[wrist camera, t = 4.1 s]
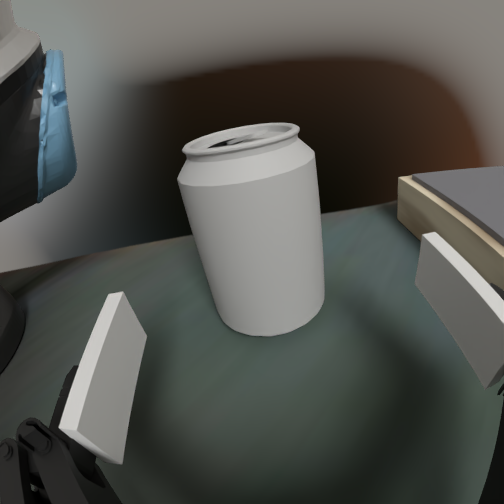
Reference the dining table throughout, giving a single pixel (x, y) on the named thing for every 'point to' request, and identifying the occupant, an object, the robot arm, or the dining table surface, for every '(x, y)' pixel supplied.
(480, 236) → the dock
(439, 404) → the dining table surface
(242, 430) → the dining table surface
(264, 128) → the can
